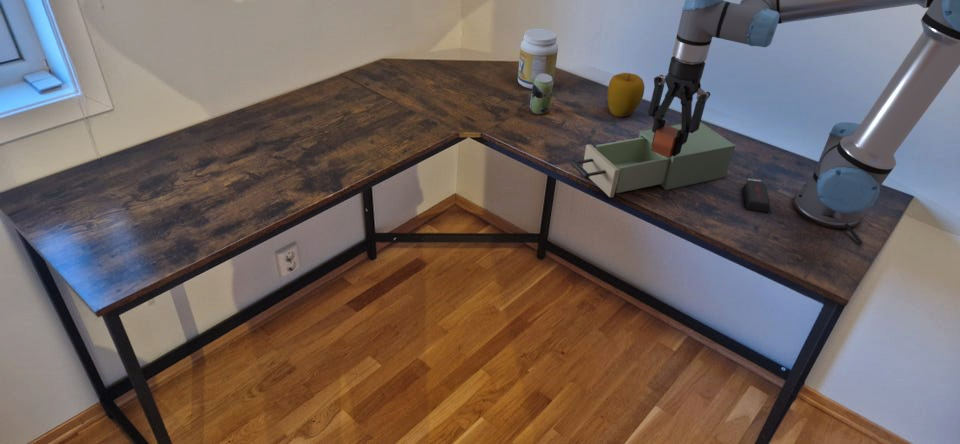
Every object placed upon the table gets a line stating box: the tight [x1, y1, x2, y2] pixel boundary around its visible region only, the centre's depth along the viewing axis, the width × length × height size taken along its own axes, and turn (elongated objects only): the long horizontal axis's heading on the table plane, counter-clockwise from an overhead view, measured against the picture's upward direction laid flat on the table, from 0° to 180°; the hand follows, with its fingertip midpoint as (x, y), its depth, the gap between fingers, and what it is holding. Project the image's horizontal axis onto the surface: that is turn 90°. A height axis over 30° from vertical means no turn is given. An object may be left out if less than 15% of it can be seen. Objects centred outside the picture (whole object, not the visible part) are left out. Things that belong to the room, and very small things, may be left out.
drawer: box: [570, 137, 671, 198], centre depth 166 cm, size 25×13×8 cm, turn 114°
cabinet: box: [638, 121, 736, 191], centre depth 173 cm, size 20×15×10 cm
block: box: [651, 124, 679, 158], centre depth 158 cm, size 5×5×6 cm
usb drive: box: [742, 178, 771, 213], centre depth 165 cm, size 5×12×3 cm, turn 167°
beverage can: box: [529, 73, 554, 115], centre depth 197 cm, size 6×7×12 cm
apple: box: [606, 72, 645, 118], centre depth 198 cm, size 11×11×13 cm
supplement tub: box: [517, 28, 559, 90], centre depth 213 cm, size 12×12×17 cm
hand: (665, 149), depth 160 cm, fingers closed on block, 5 cm apart
